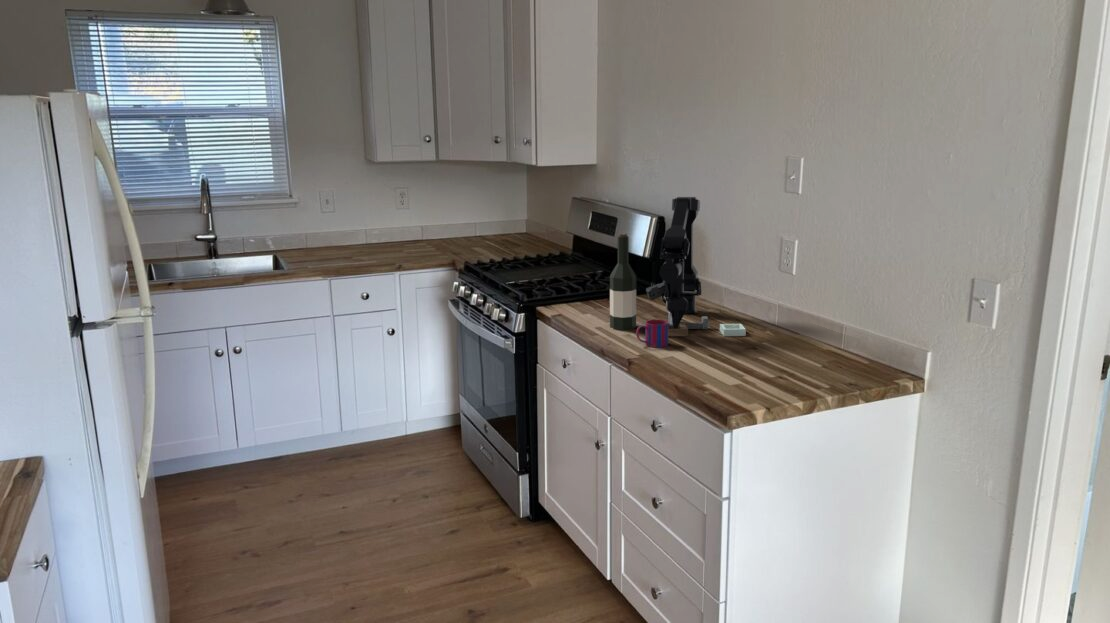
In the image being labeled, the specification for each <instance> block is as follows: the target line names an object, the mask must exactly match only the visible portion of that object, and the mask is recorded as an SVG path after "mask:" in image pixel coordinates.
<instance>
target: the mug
mask: <svg viewBox="0 0 1110 623" xmlns="http://www.w3.org/2000/svg"><path fill="white" fill-rule="evenodd" d="M636 328H637V329H636V331H635V332H636V334H635V335H636V338H637V340H638V341H640V342H641V343H645V345H646V346H647V347H650V348H664V347H667V346H668V345H669V336H668V329H669V322H668V320H666V319H665V320H664V319H657V318H656V319H649V320H646V321H645V324H644V325H639V326H638V327H636ZM642 328H644V329H645V332H644V333H645V340H644V339H643V340H642V338H641V337H640V329H642Z"/></svg>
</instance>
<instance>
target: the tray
mask: <svg viewBox="0 0 1110 623" xmlns="http://www.w3.org/2000/svg"><path fill="white" fill-rule="evenodd" d="M746 331H747V330H746V328H745V327H744V325H743V324H742V323H719V332H720V333H721V335H722V336H723V337H745V336H746V335H747V334H746Z"/></svg>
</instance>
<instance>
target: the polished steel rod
mask: <svg viewBox="0 0 1110 623" xmlns="http://www.w3.org/2000/svg"><path fill="white" fill-rule="evenodd" d="M667 314H668V315H667V316H668V319H667V321H668V322H669V329H674V328H673V322H672V316H671V312H670V311H669V312H668V311H667ZM677 329H679V326H678V328H677Z"/></svg>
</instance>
